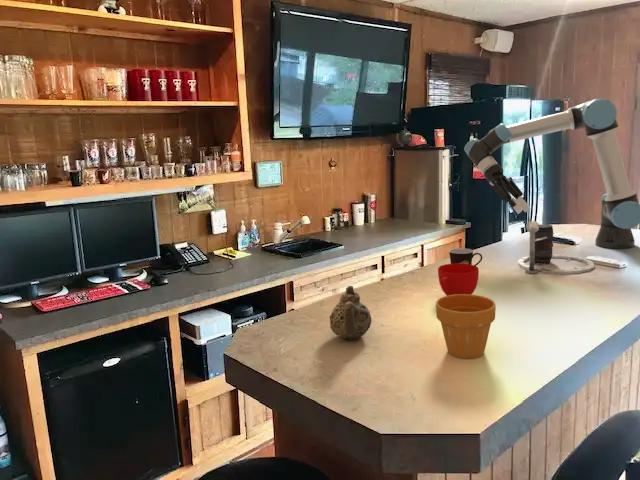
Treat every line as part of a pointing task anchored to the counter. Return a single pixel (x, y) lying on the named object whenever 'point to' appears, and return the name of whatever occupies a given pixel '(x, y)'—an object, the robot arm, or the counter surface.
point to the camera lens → (543, 244)
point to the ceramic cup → (458, 278)
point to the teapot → (350, 316)
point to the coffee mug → (462, 256)
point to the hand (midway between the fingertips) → (524, 210)
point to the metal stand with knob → (532, 245)
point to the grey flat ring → (576, 270)
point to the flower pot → (465, 323)
